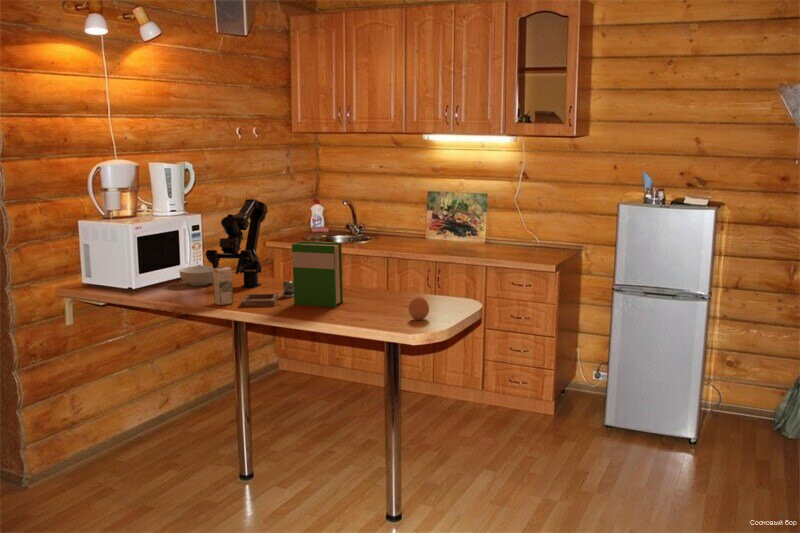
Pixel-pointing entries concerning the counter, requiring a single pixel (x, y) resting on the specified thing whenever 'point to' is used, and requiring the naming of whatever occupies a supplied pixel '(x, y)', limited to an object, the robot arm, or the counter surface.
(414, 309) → the egg
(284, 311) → the counter surface
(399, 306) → the counter surface
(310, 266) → the hardback book
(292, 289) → the chuck post
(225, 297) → the syrup box
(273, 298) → the socket tray
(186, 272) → the cereal bowl
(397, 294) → the counter surface
